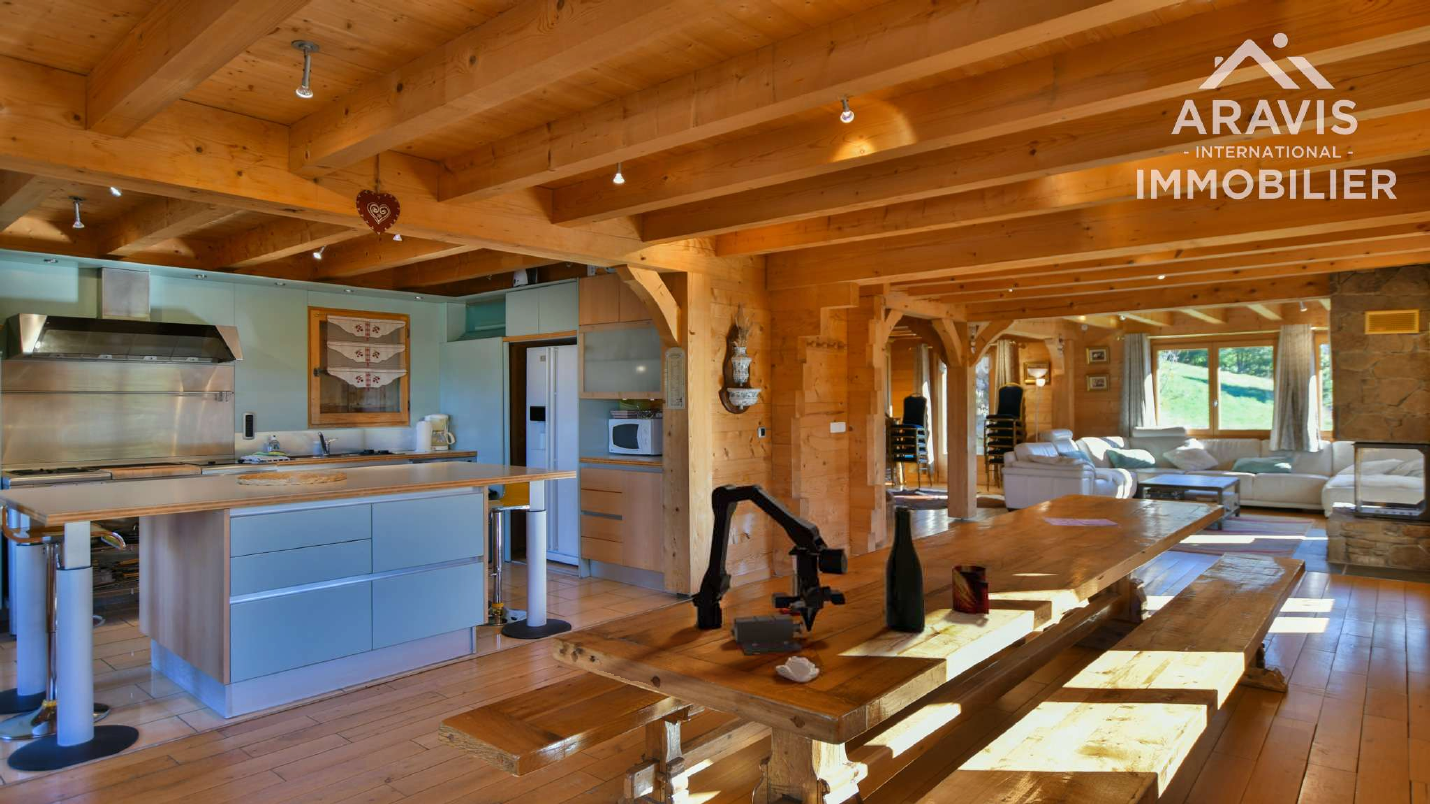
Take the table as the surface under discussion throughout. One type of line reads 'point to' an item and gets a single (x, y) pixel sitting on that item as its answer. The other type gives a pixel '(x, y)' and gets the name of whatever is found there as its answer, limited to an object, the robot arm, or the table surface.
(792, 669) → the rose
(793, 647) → the hinge
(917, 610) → the beer bottle
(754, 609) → the table surface
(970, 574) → the mug
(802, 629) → the pin
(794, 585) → the tow hook
